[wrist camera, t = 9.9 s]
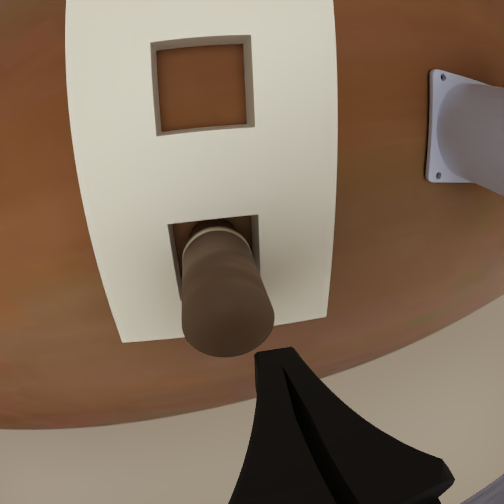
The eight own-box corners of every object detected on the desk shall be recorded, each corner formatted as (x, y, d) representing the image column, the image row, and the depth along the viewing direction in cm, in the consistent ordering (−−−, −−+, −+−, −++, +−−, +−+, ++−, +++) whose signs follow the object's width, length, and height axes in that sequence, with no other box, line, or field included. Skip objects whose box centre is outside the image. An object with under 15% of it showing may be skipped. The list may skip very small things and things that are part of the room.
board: (313, -10, 14) (330, -23, 11) (313, 295, 22) (326, 316, 20) (81, 7, 12) (66, -5, 10) (127, 318, 21) (122, 342, 18)
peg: (243, 208, 19) (276, 278, 12) (244, 263, 20) (273, 351, 13) (180, 213, 18) (174, 288, 11) (186, 269, 20) (187, 361, 13)
